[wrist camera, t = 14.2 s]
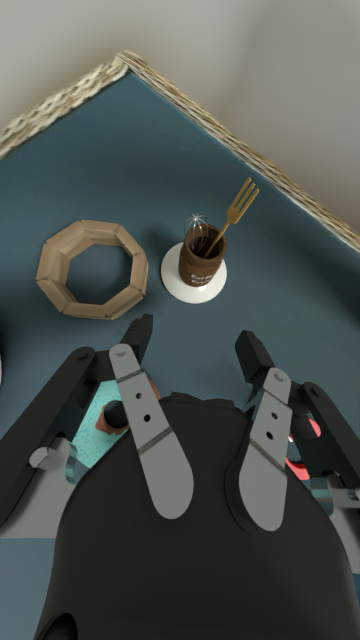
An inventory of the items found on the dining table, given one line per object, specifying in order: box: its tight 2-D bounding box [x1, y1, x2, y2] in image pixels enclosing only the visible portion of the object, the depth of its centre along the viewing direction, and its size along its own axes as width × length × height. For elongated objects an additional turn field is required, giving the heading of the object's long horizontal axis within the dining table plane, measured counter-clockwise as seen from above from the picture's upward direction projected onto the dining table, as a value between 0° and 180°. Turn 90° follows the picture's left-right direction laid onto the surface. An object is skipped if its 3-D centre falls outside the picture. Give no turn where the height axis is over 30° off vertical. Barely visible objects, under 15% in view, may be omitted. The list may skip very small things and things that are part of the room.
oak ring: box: [36, 220, 148, 320], centre depth 21 cm, size 14×14×3 cm
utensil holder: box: [178, 177, 259, 287], centre depth 17 cm, size 6×6×12 cm
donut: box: [72, 377, 161, 468], centre depth 18 cm, size 12×12×4 cm
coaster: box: [161, 242, 227, 304], centre depth 23 cm, size 11×11×1 cm
